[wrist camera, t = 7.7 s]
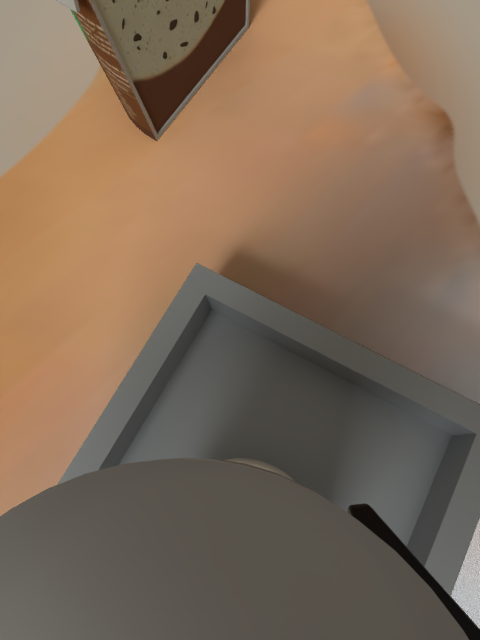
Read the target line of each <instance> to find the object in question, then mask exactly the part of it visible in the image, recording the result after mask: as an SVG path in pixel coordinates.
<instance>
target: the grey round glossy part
mask: <svg viewBox="0 0 480 640" xmlns="http://www.w3.org/2000/svg"><path fill="white" fill-rule="evenodd" d="M0 640H469V639H468V637H467V636H466V634H465V632H464V631H463V629H462V628H461V627H460V625H459V624H458V623H457V622H456V620H455V619H454V618H453V616H452V615H451V614H450V612H449V611H448V610H447V608H446V607H445V606H444V604H443V603H442V602H441V601H440V599H439V598H438V597H437V595H436V594H435V593H434V591H433V590H432V589H431V588H430V587H429V585H428V584H427V583H426V582H425V581H424V580H423V579H422V578H421V577H420V576H419V575H418V574H417V573H416V572H415V571H414V570H413V569H412V568H411V567H410V566H409V565H408V564H407V562H406V561H405V560H404V559H403V558H402V557H401V556H400V555H399V554H398V553H397V552H396V551H395V550H394V549H392V548H391V547H390V546H389V545H388V544H386V543H385V542H384V541H383V540H381V539H380V538H379V537H378V536H377V535H375V534H374V533H373V532H372V531H371V530H369V529H368V528H367V527H366V526H364V525H363V524H362V523H361V522H360V521H358V520H357V519H356V518H354V517H353V516H351V515H350V514H349V513H347V512H346V511H345V510H343V509H342V508H340V507H339V506H337V505H336V504H334V503H333V502H331V501H329V500H328V499H326V498H325V497H323V496H322V495H320V494H318V493H317V492H315V491H314V490H312V489H311V488H309V487H307V486H304V485H302V484H300V483H298V482H296V481H294V480H293V479H292V478H291V477H290V476H289V475H287V474H286V473H285V472H284V471H282V470H280V469H279V468H277V467H275V466H273V465H271V464H269V463H267V462H263V461H260V460H257V459H250V458H232V459H225V460H221V459H215V458H172V459H161V460H152V461H143V462H134V463H126V464H121V465H117V466H113V467H109V468H105V469H102V470H98V471H94V472H90V473H86V474H83V475H81V476H78V477H76V478H73V479H71V480H68V481H66V482H63V483H61V484H58V485H56V486H53V487H51V488H48V489H46V490H45V491H43V492H41V493H39V494H37V495H36V496H34V497H32V498H30V499H28V500H26V501H25V502H23V503H21V504H19V505H17V506H16V507H14V508H12V509H10V510H9V511H8V512H6V513H5V514H3V515H2V516H1V517H0Z"/></svg>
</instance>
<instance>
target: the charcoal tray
mask: <svg viewBox="0 0 480 640" xmlns="http://www.w3.org/2000/svg"><path fill="white" fill-rule="evenodd" d="M172 458H215V459H221V460H225V459H232V458H250V459H257V460H260V461H263V462H267V463H269V464H271V465H273V466H275V467H277V468H279V469H280V470H282V471H284V472H285V473H286V474H287V475H289V476H290V477H291V478H292V479H293V480H294V481H296V482H298V483H300V484H302V485H304V486H307V487H309V488H311V489H312V490H314V491H315V492H317V493H318V494H320V495H322V496H323V497H325V498H326V499H328V500H329V501H331V502H333V503H334V504H336V505H337V506H339V507H340V508H342V509H343V510H345V511H346V512H347V513H348V507H349V506H350V505H355V504H364V503H365V504H368V505H370V506H371V507H372V508H373V509H374V511H375V512H376V513H377V514H378V515H379V516H380V517H381V518H382V520H383V521H384V522H385V523H386V524H387V525H388V526H389V527H390V529H391V530H392V531H393V532H394V533H395V534H396V535H397V536H398V538H399V539H400V540H401V541H402V542H403V543H404V544H405V546H406V547H407V548H408V549H409V550H410V551H411V552H412V553H413V555H414V556H415V557H416V558H417V559H418V560H419V561H420V562H421V564H422V565H423V566H424V567H425V568H426V569H427V570H428V571H429V573H430V574H431V575H432V576H433V577H434V578H435V579H436V580H437V582H438V583H439V584H440V585H441V586H442V587H443V588H444V589H445V591H446V592H447V593H448V594H449V595H450V596H451V593H452V590H453V588H454V585H455V582H456V580H457V577H458V574H459V572H460V569H461V566H462V563H463V561H464V558H465V555H466V553H467V550H468V547H469V545H470V542H471V539H472V537H473V534H474V531H475V528H476V526H477V523H478V520H479V518H480V404H478V403H476V402H474V401H472V400H470V399H468V398H466V397H464V396H462V395H460V394H458V393H456V392H454V391H452V390H450V389H448V388H446V387H444V386H442V385H440V384H438V383H436V382H434V381H432V380H430V379H428V378H426V377H424V376H422V375H420V374H418V373H416V372H414V371H412V370H410V369H408V368H406V367H404V366H402V365H400V364H398V363H396V362H394V361H392V360H390V359H388V358H386V357H384V356H382V355H380V354H378V353H376V352H374V351H372V350H370V349H368V348H366V347H364V346H362V345H360V344H358V343H356V342H354V341H352V340H350V339H348V338H346V337H344V336H342V335H340V334H338V333H336V332H334V331H332V330H330V329H328V328H326V327H324V326H322V325H320V324H318V323H316V322H314V321H312V320H310V319H308V318H306V317H304V316H302V315H300V314H298V313H296V312H294V311H292V310H290V309H288V308H286V307H284V306H282V305H280V304H278V303H276V302H274V301H272V300H270V299H268V298H266V297H264V296H262V295H260V294H258V293H256V292H254V291H252V290H250V289H248V288H246V287H244V286H242V285H240V284H238V283H236V282H234V281H232V280H230V279H228V278H226V277H224V276H222V275H220V274H218V273H216V272H214V271H212V270H210V269H208V268H206V267H204V266H202V265H200V264H198V263H196V265H195V267H194V268H193V270H192V271H191V273H190V274H189V276H188V278H187V279H186V281H185V282H184V284H183V286H182V287H181V289H180V290H179V292H178V294H177V295H176V297H175V298H174V300H173V302H172V303H171V305H170V306H169V308H168V309H167V311H166V313H165V314H164V316H163V317H162V319H161V321H160V322H159V324H158V325H157V327H156V329H155V330H154V332H153V333H152V335H151V337H150V338H149V340H148V341H147V343H146V344H145V346H144V348H143V349H142V351H141V352H140V354H139V356H138V357H137V359H136V360H135V362H134V364H133V365H132V367H131V368H130V370H129V372H128V373H127V375H126V376H125V378H124V379H123V381H122V383H121V384H120V386H119V387H118V389H117V391H116V392H115V394H114V395H113V397H112V399H111V400H110V402H109V403H108V405H107V407H106V408H105V410H104V411H103V413H102V415H101V416H100V418H99V419H98V421H97V422H96V424H95V426H94V427H93V429H92V430H91V432H90V434H89V435H88V437H87V438H86V440H85V442H84V443H83V445H82V446H81V448H80V450H79V451H78V453H77V454H76V456H75V457H74V459H73V461H72V462H71V464H70V465H69V467H68V469H67V470H66V472H65V473H64V475H63V477H62V478H61V480H60V481H59V483H58V484H61V483H63V482H66V481H68V480H71V479H73V478H76V477H78V476H81V475H83V474H86V473H90V472H94V471H98V470H102V469H105V468H109V467H113V466H117V465H121V464H126V463H134V462H143V461H152V460H161V459H172Z"/></svg>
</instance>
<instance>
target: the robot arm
mask: <svg viewBox="0 0 480 640" xmlns="http://www.w3.org/2000/svg"><path fill="white" fill-rule="evenodd" d="M348 513H349V514H350V515H351V516H353V517H354V518H356V519H357V520H358V521H360V522H361V523H362V524H363V525H364V526H366V527H367V528H368V529H369V530H371V531H372V532H373V533H374V534H375V535H377V536H378V537H379V538H380V539H381V540H383V541H384V542H385V543H386V544H388V545H389V546H390V547H391V548H392V549H394V550H395V551H396V552H397V553H398V554H399V555H400V556H401V557H402V558H403V559H404V560H405V561H406V562H407V564H408V565H409V566H410V567H411V568H412V569H413V570H414V571H415V572H416V573H417V574H418V575H419V576H420V577H421V578H422V579H423V580H424V581H425V582H426V583H427V584H428V585H429V587H430V588H431V589H432V590H433V591H434V593H435V594H436V595H437V597H438V598H439V599H440V601H441V602H442V603H443V604H444V606H445V607H446V608H447V610H448V611H449V612H450V614H451V615H452V616H453V618H454V619H455V620H456V622H457V623H458V624H459V625H460V627H461V628H462V629H463V631H464V632H465V634H466V636H467V637H468V639H469V640H480V629H479V628H478V627H477V626H476V624H475V623H474V622H473V621H472V620H471V619H470V618H469V616H468V615H467V614H466V613H465V612H464V611H463V610H462V609H461V607H460V606H459V605H458V604H457V603H456V602H455V601H454V600H453V598H452V597H451V596H450V595H449V594H448V593H447V592H446V591H445V589H444V588H443V587H442V586H441V585H440V584H439V583H438V582H437V580H436V579H435V578H434V577H433V576H432V575H431V574H430V573H429V571H428V570H427V569H426V568H425V567H424V566H423V565H422V564H421V562H420V561H419V560H418V559H417V558H416V557H415V556H414V555H413V553H412V552H411V551H410V550H409V549H408V548H407V547H406V546H405V544H404V543H403V542H402V541H401V540H400V539H399V538H398V536H397V535H396V534H395V533H394V532H393V531H392V530H391V529H390V527H389V526H388V525H387V524H386V523H385V522H384V521H383V520H382V518H381V517H380V516H379V515H378V514H377V513H376V512H375V511H374V509H373V508H372V507H371V506H370V505H368V504H365V503H364V504H355V505H350V506H349V507H348Z"/></svg>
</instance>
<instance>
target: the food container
mask: <svg viewBox="0 0 480 640" xmlns="http://www.w3.org/2000/svg"><path fill="white" fill-rule="evenodd" d="M57 1H58V2H59V3H61V4H63V5H65V6H66V7H68V8H70V10H71V11H72V13H73V15H74V16H75V19H76V21H77V22H78V24H79V26H80V28H81V30H82V32H83V33H84V35H85V37H86V39H87V41H88V43H89V44H90V46H91V48H92V50H93V52H94V53H95V55H96V57H97V59H98V61H99V63H100V65H101V67H102V68H103V70H104V72H105V74H106V76H107V78H108V79H109V81H110V83H111V85H112V87H113V89H114V90H115V92H116V94H117V96H118V98H119V100H120V102H121V103H122V105H123V107H124V109H125V111H126V113H127V114H128V116H129V118H130V119H131V120H132V122H133V123H134V124H135V125H136V126H137V127H138V128H139V129H140V130H141V131H142V132H143V133H145V134H146V135H148V136H149V137H151V138H152V139H154V140H156V141H158V139H159V138H160V137H161V136H162V134H163V133H164V132H165V131H166V129H167V128H168V127H169V126H170V125H171V123H172V122H173V121H174V120H175V118H176V117H177V116H178V115H179V113H180V112H181V111H182V110H183V108H184V107H185V106H186V105H187V104H188V102H189V101H190V100H191V99H192V97H193V96H194V95H195V94H196V92H197V91H198V90H199V89H200V87H201V86H202V85H203V84H204V83H205V81H206V80H207V79H208V78H209V76H210V75H211V74H212V73H213V71H214V70H215V69H216V68H217V66H218V65H219V64H220V63H221V61H222V60H223V59H224V58H225V57H226V55H227V54H228V53H229V52H230V50H231V49H232V48H233V47H234V45H235V44H236V43H237V42H238V40H239V39H240V38H241V37H242V36H243V34H244V33H245V32H246V31H247V29H248V28H249V22H250V0H57Z"/></svg>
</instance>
